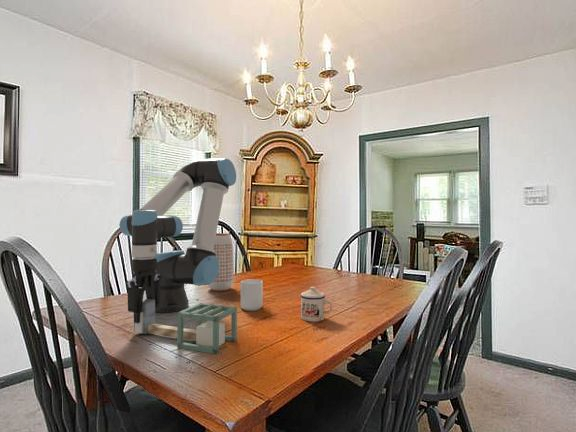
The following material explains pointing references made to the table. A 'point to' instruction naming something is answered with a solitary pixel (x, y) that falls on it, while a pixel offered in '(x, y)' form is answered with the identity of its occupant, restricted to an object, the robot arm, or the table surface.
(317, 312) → the teacup with lid
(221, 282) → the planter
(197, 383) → the table surface
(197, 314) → the tube cage
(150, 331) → the mallet
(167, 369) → the table surface
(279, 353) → the table surface
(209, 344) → the block
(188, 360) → the table surface
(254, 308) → the mug
